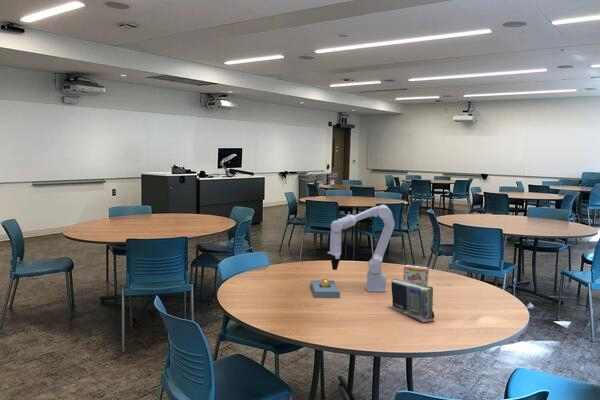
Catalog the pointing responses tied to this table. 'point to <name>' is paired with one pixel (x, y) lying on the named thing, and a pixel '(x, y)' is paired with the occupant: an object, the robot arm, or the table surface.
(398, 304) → the radio
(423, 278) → the candy bar box
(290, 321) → the table surface
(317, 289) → the jig
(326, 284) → the brass cylinder
